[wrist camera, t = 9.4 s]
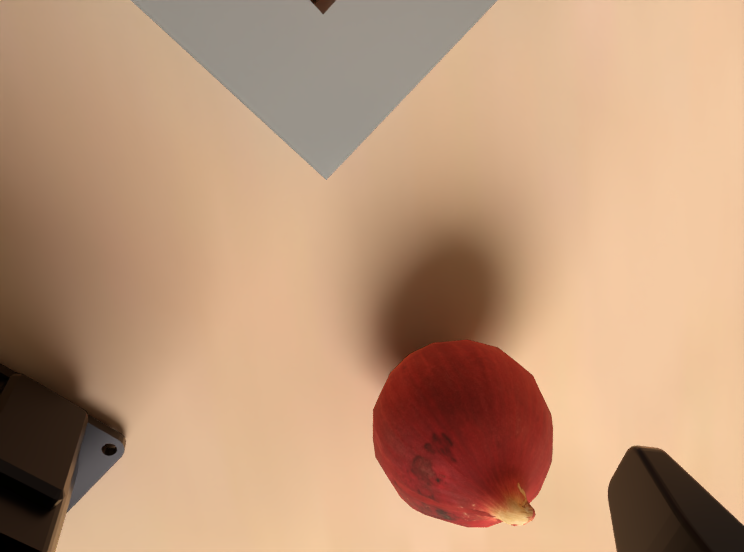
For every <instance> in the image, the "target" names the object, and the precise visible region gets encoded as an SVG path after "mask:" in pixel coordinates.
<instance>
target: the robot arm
mask: <svg viewBox="0 0 744 552" xmlns="http://www.w3.org/2000/svg"><path fill="white" fill-rule="evenodd" d="M105 444H113V445H115V446H116V447H115V448H111V449H110V448H106V447H105V446H104V445H105ZM125 445H126V440H125V438H124V436H123V435H122V434H121V433H119V432H117V431H116V430H114V429H112V428H110V427H109V426H107V425H105V424H104V423H102V422H100V421H98V420H97V419H95V418H93V417H92V416H90V415H88V414H87V412H86V411H85V410H84V409H82V408H80V407H78V406H77V405H75V404H73V403H72V402H70V401H68V400H66V399H65V398H63V397H61V396H59V395H58V394H56V393H54V392H53V391H51V390H49V389H47V388H46V387H44V386H42V385H41V384H39V383H37V382H35V381H34V380H32V379H30V378H29V377H27V376H25V375H23V374H17V373H16V372H14V371H12V370H11V369H9V368H7V367H5V366H4V365H2V364H0V552H55V551H56V547H57V544H58V540H59V537H60V533H61V530H62V526H63V523H64V519H65V516H66V513H67V512H68V511H69V510H70V509H71V508H72V507H73V506H74V505H75V504H76V503H77V502H78V501H79V500H80V499H81V498H82V497H83V496H84V495H85V494H86V493H87V492H88V491H89V489H90V488H91V487H92V486H93V485H94V484H95V483H96V482H97V481H98V480H99V479H100V478H101V477H102V476H103V475H104V474H105V473H106V472H107V471H108V470H109V469H110V468H111V467H112V466H113V465H114V464H115V463H116V462H117V461H118V460H119V459H120V458H121V457H122V455H123V453H124V450H125ZM608 501H609V507H610V513H611V519H612V525H613V531H614V538H615V544H616V550H617V552H744V525H743V524H741V523H740V522H739V521H738V520H737V519H736V518H735V517H734V516H733V515H732V514H731V513H730V512H729V511H728V510H727V509H726V508H724V507H723V506H722V505H721V504H720V503H719V502H718V501H717V500H716V499H715V498H714V497H713V496H712V495H711V494H710V493H709V492H707V491H706V490H705V489H704V488H703V487H702V486H701V485H700V484H699V483H698V482H697V481H696V480H695V479H694V478H693V477H692V476H690V475H689V474H688V473H687V472H686V471H685V470H684V469H683V468H682V467H681V466H680V465H679V464H678V463H677V462H676V461H674V460H673V459H672V458H671V457H670V456H669V455H668V454H667V453H666V452H665V451H663V450H661V449H659V448H654V447H645V446H632V447H631V448H629V449H628V450H627V452H626V454H625V455H624V457H623V459H622V461H621V463H620V464H619V466H618V468H617V470H616V471H615V473H614V475H613V477H612V479H611V481H610V483H609V487H608Z"/></svg>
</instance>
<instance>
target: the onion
mask: <svg viewBox="0 0 744 552" xmlns="http://www.w3.org/2000/svg"><path fill="white" fill-rule="evenodd" d="M373 442H374V450H375V457H376V458H377V460H378V462H379V464H380V465H381V467H382V469H383V470H384V472H385V474H386V475H387V477H388V478H389V480H390V481H391V483H392V485H393V486H394V488H395V489H396V491H397V492H398V494H399V496H400V497H401V498H402V499H403V500H404V501H405V502H406V503H407V504H408V505H409V506H410V507H412V508H413V509H415V510H417V511H419V512H421V513H423V514H424V515H428V516H431V517H434V518H437V519H441V520H444V521H447V522H451V523H454V524H457V525H461V526H465V527H489V526H492V525H495V524H498V523H501V522H505V523H507V524H510V525H513V526H516V525H525V524H526V523H528V522H530V521H532V520H533V518H534V517H535V511H534V509H533V508H532V507H531V505H530V504H529V503H530V502H531V501H532V500H533V499H534V498H535V497H536V496H537V495H538V493H539V491H540V490H541V487H542V485H543V483H544V480H545V478H546V475H547V473H548V471H549V468H550V465H551V462H552V450H553V425H552V417H551V413H550V411H549V409H548V407H547V404H546V402H545V400H544V398H543V396H542V394H541V392H540V390H539V388H538V385H537V383H536V381H535V379H534V377H533V375H532V374H530V373H529V372H528V371H527V370H526V369H524V368H523V367H522V366H521V365H520V364H518V363H517V362H516V361H515V360H513V359H512V358H511V357H510V356H508V355H507V354H506V353H504V352H503V351H502V350H500V349H499V348H498V347H494V346H490V345H486V344H483V343H479V342H475V341H471V340H457V341H447V342H437V343H432V344H429V345H427V346H425V347H423V348H421V349H419V350H417V351H415V352H413V353H411V354H409V355H408V356H407V357H406V358H405V359H404V360H403V361H402V362H401V363H400V364H399V365H398V366H397V367H396V368H395V369H394V370H392V371H391V372H390V374H389V377H388V379H387V381H386V383H385V385H384V387H383V389H382V391H381V393H380V395H379V398H378V400H377V402H376V405H375V407H374V409H373Z"/></svg>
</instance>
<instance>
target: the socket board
mask: <svg viewBox="0 0 744 552" xmlns="http://www.w3.org/2000/svg"><path fill="white" fill-rule="evenodd" d="M131 1H132V2H133V3H134V4H135V5H137V6H138V7H139V8H140V9H141V10H142V11H143V12H144V13H145V14H146V15H147V16H149V17H150V18H151V19H152V20H153V21H154V22H155V23H156V24H157V25H158V26H159V27H160V28H162V29H163V30H164V31H165V32H166V33H167V34H168V35H169V36H170V37H171V38H172V39H174V40H175V41H176V42H177V43H178V44H179V45H180V46H181V47H182V48H183V49H184V50H186V51H187V52H188V53H189V54H190V55H191V56H192V57H193V58H194V59H195V60H196V61H197V62H199V63H200V64H201V65H202V66H203V67H204V68H205V69H206V70H207V71H208V72H209V73H211V74H212V75H213V76H214V77H215V78H216V79H217V80H218V81H219V82H220V83H221V84H222V85H224V86H225V87H226V88H227V89H228V90H229V91H230V92H231V93H232V94H233V95H234V96H236V97H237V98H238V99H239V100H240V101H241V102H242V103H243V104H244V105H245V106H246V107H248V108H249V109H250V110H251V111H252V112H253V113H254V114H255V115H256V116H257V117H258V118H259V119H261V120H262V121H263V122H264V123H265V124H266V125H267V126H268V127H269V128H270V129H271V130H273V131H274V132H275V133H276V134H277V135H278V136H279V137H280V138H281V139H282V140H283V141H284V142H286V143H287V144H288V145H289V146H290V147H291V148H292V149H293V150H294V151H295V152H296V153H298V154H299V155H300V156H301V157H302V158H303V159H304V160H305V161H306V162H307V163H308V164H309V165H311V166H312V167H313V168H314V169H315V170H316V171H317V172H318V173H319V174H320V175H321V176H323V177H324V178H325V179H326V180H327V179H328V178H329V177H330V176H331V175H332V174H333V173H334V171H335V170H336V169H337V168H338V167H339V166H340V165H341V164H342V163H343V162H344V161H345V160H346V159H347V158H348V157H349V156H350V155H351V154H352V153H353V152H354V150H355V149H356V148H357V147H358V146H359V145H360V144H361V143H362V142H363V141H364V140H365V139H366V138H367V137H368V136H369V135H370V134H371V133H372V132H373V131H374V129H375V128H376V127H377V126H378V125H379V124H380V123H381V122H382V121H383V120H384V119H385V118H386V117H387V116H388V115H389V114H390V113H391V112H392V111H393V110H394V108H395V107H396V106H397V105H398V104H399V103H400V102H401V101H402V100H403V99H404V98H405V97H406V96H407V95H408V94H409V93H410V92H411V91H412V90H413V89H414V88H415V86H416V85H417V84H418V83H419V82H420V81H421V80H422V79H423V78H424V77H425V76H426V75H427V74H428V73H429V72H430V71H431V70H432V69H433V68H434V67H435V65H436V64H437V63H438V62H439V61H440V60H441V59H442V58H443V57H444V56H445V55H446V54H447V53H448V52H449V51H450V50H451V49H452V48H453V47H454V46H455V44H456V43H457V42H458V41H459V40H460V39H461V38H462V37H463V36H464V35H465V34H466V33H467V32H468V31H469V30H470V29H471V28H472V27H473V26H474V25H475V23H476V22H477V21H478V20H479V19H480V18H481V17H482V16H483V15H484V14H485V13H486V12H487V11H488V10H489V9H490V8H491V7H492V6H493V5H494V4H495V2H496V1H497V0H318V1H317V2H316V3H315V4H313V3H312V2H311V1H310V0H131Z"/></svg>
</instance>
